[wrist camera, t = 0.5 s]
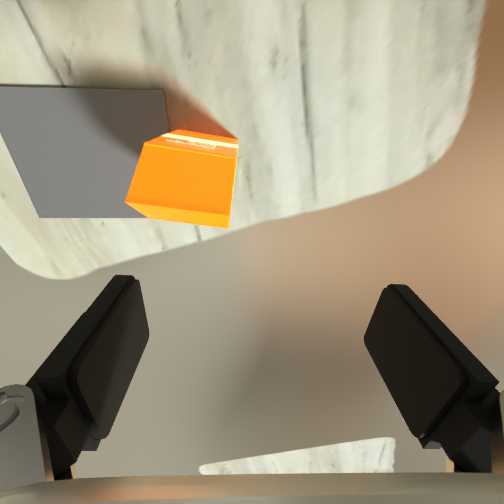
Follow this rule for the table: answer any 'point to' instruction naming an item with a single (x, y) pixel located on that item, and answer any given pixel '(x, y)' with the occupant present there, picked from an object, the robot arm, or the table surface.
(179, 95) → the table surface
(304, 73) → the table surface
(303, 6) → the table surface
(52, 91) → the mat
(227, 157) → the orange juice
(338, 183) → the table surface
